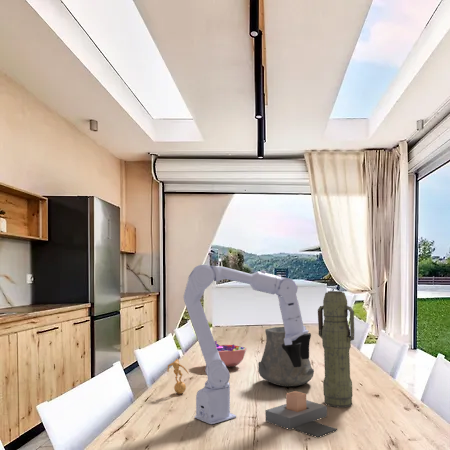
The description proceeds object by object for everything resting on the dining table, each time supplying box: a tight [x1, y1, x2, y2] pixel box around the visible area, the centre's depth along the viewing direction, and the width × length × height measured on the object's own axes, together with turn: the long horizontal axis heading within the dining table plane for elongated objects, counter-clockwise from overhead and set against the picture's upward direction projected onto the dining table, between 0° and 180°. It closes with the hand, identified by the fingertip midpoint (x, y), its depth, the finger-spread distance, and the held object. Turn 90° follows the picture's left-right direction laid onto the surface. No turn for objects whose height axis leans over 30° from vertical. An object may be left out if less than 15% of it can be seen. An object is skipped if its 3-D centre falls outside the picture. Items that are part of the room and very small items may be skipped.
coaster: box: [293, 421, 338, 438], centre depth 119 cm, size 8×8×1 cm
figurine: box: [166, 358, 189, 395], centre depth 154 cm, size 8×6×12 cm
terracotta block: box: [285, 390, 307, 412], centre depth 128 cm, size 4×4×7 cm
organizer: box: [264, 399, 328, 430], centre depth 128 cm, size 16×9×3 cm, turn 130°
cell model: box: [200, 340, 247, 368], centre depth 194 cm, size 17×20×11 cm
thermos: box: [317, 290, 355, 408], centre depth 144 cm, size 9×12×35 cm
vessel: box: [257, 326, 315, 387], centre depth 167 cm, size 22×22×20 cm
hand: (301, 362), depth 134 cm, fingers open, 7 cm apart
